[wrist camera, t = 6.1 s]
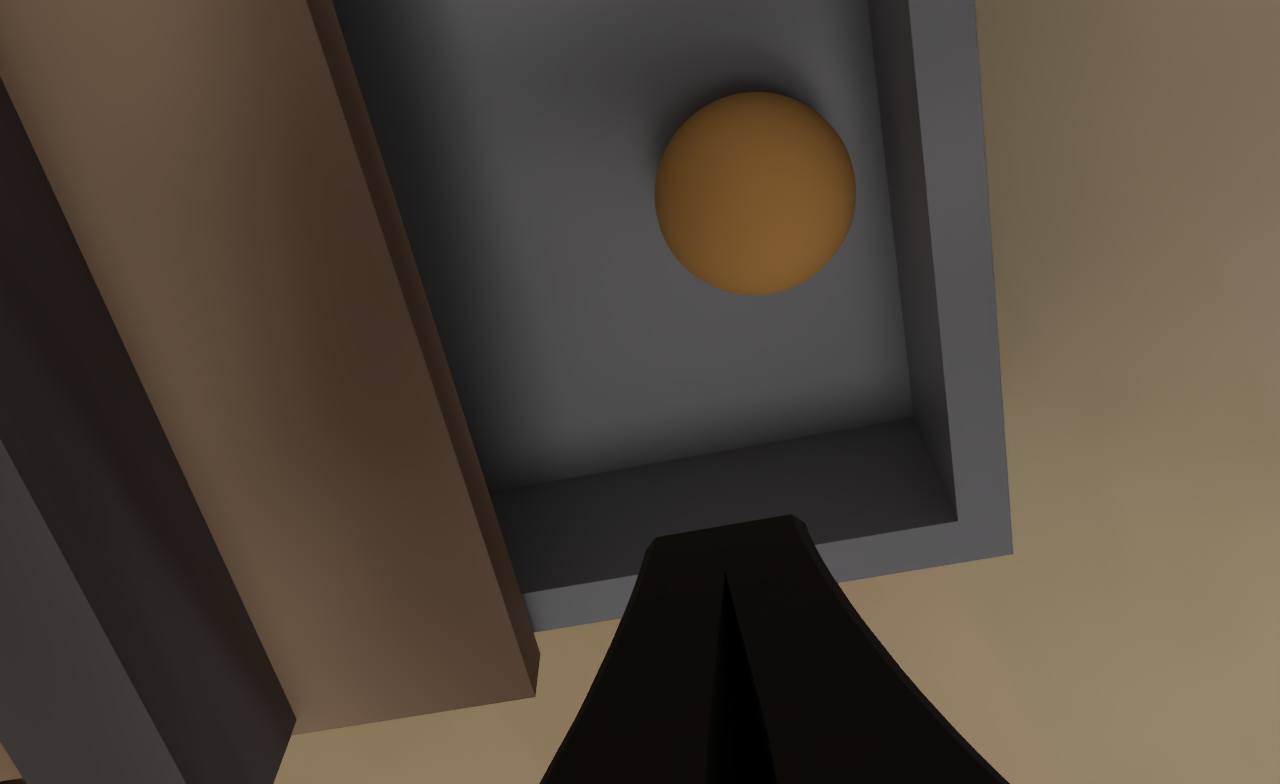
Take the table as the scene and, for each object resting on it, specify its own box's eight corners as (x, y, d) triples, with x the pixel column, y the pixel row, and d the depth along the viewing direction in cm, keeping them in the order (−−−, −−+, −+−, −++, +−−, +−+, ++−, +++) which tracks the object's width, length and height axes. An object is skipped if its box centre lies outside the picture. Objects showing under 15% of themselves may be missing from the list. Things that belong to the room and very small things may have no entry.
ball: (826, 53, 18) (859, 100, 15) (850, 234, 19) (884, 306, 16) (636, 92, 18) (634, 146, 15) (673, 268, 19) (677, 344, 17)
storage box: (886, -301, 16) (952, -323, 13) (955, 433, 21) (1013, 554, 18) (82, -109, 17) (-54, -84, 14) (341, 540, 23) (288, 672, 19)
